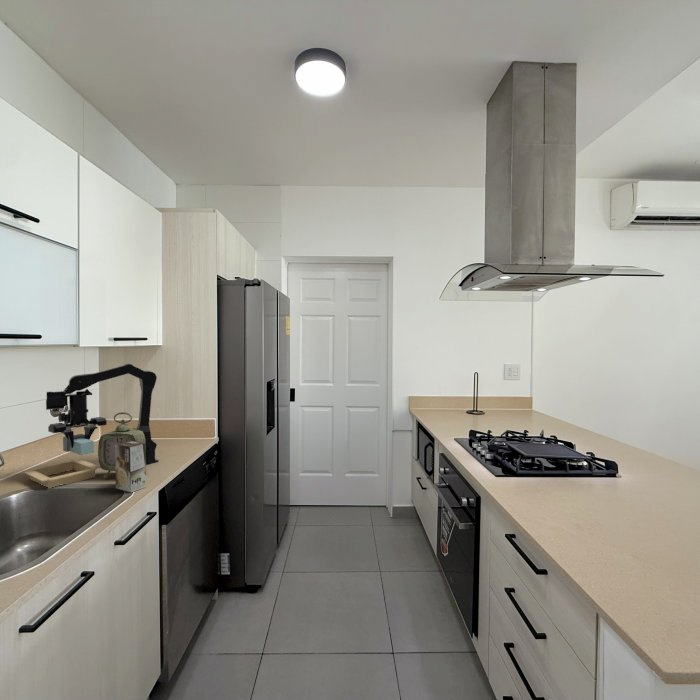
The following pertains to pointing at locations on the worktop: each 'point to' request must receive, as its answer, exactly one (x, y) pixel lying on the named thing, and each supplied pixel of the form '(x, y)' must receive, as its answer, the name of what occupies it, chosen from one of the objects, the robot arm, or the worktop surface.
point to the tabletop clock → (110, 439)
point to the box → (79, 445)
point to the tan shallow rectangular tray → (81, 466)
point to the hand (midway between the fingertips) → (79, 446)
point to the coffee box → (130, 465)
